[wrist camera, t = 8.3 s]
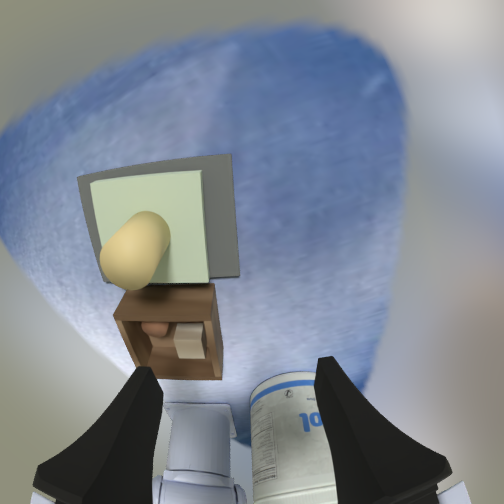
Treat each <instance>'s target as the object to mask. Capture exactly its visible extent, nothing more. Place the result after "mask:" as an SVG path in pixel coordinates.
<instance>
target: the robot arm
mask: <svg viewBox="0 0 504 504" xmlns="http://www.w3.org/2000/svg"><path fill="white" fill-rule="evenodd" d="M314 391H315V397H316V402H317V407H318V410H319V414H320V417H321V420H322V424H323V427H324V430H325V433H326V437H327V440H328V443H329V447H330V451H331V456H332V462H333V468H334V475H335V482H336V491H337V501H338V504H471V501H470V498H469V495H468V492H467V489H466V487H465V484H464V481H460V482H459V483H457V484H455V485H454V486H452V487H450V488H449V489H447V490H445V491H443V492H441V493H439V494H436V491H437V490H438V486H437V483H439V482H440V481H442V480H444V479H445V478H447V477H448V476H450V475H451V474H452V469H451V467H450V464H449V462H448V460H447V459H446V457H445V456H443V455H441V454H439V453H436V452H434V451H432V450H431V449H429V448H427V447H425V446H423V445H422V444H420V443H418V442H416V441H415V440H413V439H412V438H411V437H409V436H408V435H406V434H405V433H403V432H402V431H400V430H399V429H398V428H397V427H395V426H394V425H393V424H392V423H391V422H389V421H388V420H387V419H386V418H385V417H384V416H383V415H381V414H380V413H379V412H378V411H377V410H376V409H375V408H374V407H373V406H372V405H371V404H370V403H369V401H368V400H367V399H366V398H365V397H364V396H363V395H362V394H361V392H360V391H359V390H358V389H357V388H356V386H355V385H354V384H353V383H352V382H351V380H350V379H349V378H348V376H347V375H346V374H345V372H344V371H343V370H342V368H341V367H340V365H339V364H338V363H337V361H336V360H335V358H334V357H333V356H329V357H323V358H318V363H317V369H316V375H315V380H314ZM162 406H163V407H164V408H165V410H166V412H167V414H168V415H169V417H170V419H171V420H172V427H171V435H170V442H169V449H168V457H167V465H166V470H164V475H163V476H161V475H157V476H156V477H154V478H153V479H152V473H153V457H154V449H155V445H156V440H157V435H158V430H159V425H160V420H161V415H162ZM235 437H237V434H236V429H235V425H234V421H233V417H232V412H231V408H230V405H229V404H187V403H164V405H163V391H162V389H161V387H160V385H159V383H158V381H157V379H156V377H155V375H154V373H153V371H152V369H151V367H147V366H138V367H137V368H136V369H135V371H134V372H133V374H132V375H131V376H130V378H129V379H128V381H127V382H126V384H125V385H124V386H123V388H122V389H121V391H120V392H119V393H118V395H117V396H116V397H115V399H114V400H113V401H112V403H111V404H110V405H109V406H108V408H107V409H106V410H105V411H104V413H103V414H102V415H101V416H100V418H99V419H98V420H97V421H96V422H95V423H94V424H93V425H92V426H91V427H90V428H89V429H88V430H87V431H86V432H85V433H84V434H83V435H82V436H81V437H80V438H78V439H77V440H76V441H75V442H74V443H73V444H71V445H70V446H69V447H67V448H66V449H65V450H63V451H62V452H60V453H59V454H57V455H56V456H54V457H52V458H51V459H49V460H47V461H45V462H44V463H42V464H40V465H38V468H37V471H36V474H35V478H34V481H33V487H35V488H36V489H38V490H40V491H42V492H44V493H45V494H47V495H49V496H51V497H53V498H55V499H56V502H53V501H51V500H49V499H47V498H45V497H43V496H41V495H39V494H38V493H36V492H33V494H32V498H31V503H30V504H247V499H246V494H245V491H244V490H243V489H242V488H241V487H240V485H238V484H234V478H230V438H235Z"/></svg>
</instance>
